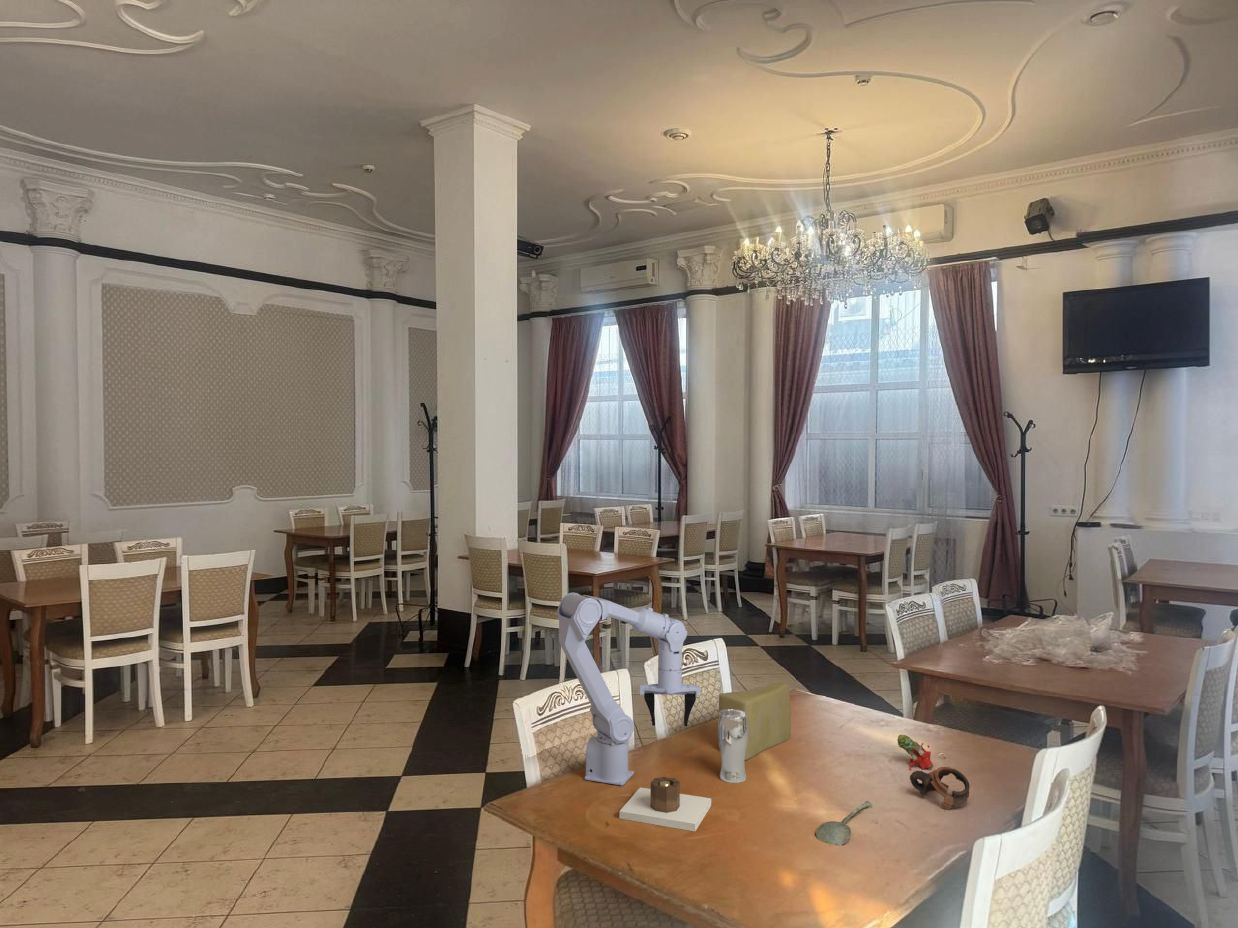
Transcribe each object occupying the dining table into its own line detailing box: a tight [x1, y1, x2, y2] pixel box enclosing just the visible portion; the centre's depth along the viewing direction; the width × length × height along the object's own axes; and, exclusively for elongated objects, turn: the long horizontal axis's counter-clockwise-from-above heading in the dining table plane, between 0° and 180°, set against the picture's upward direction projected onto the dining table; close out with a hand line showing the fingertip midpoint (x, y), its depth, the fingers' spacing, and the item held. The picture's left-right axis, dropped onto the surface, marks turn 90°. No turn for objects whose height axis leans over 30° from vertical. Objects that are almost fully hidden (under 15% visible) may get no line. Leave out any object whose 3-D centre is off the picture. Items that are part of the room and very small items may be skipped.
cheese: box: [718, 682, 792, 761], centre depth 208 cm, size 22×10×15 cm, turn 129°
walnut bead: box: [650, 776, 681, 813], centre depth 168 cm, size 6×6×5 cm
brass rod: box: [660, 781, 670, 786], centre depth 168 cm, size 2×2×6 cm
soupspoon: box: [815, 800, 873, 847], centre depth 164 cm, size 22×3×7 cm
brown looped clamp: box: [909, 766, 971, 811], centre depth 175 cm, size 12×10×8 cm
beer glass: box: [717, 709, 748, 784], centre depth 187 cm, size 7×7×15 cm
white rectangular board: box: [618, 786, 712, 832], centre depth 169 cm, size 16×13×2 cm
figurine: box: [896, 734, 934, 771], centre depth 196 cm, size 7×9×10 cm
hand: (669, 724), depth 195 cm, fingers open, 7 cm apart
